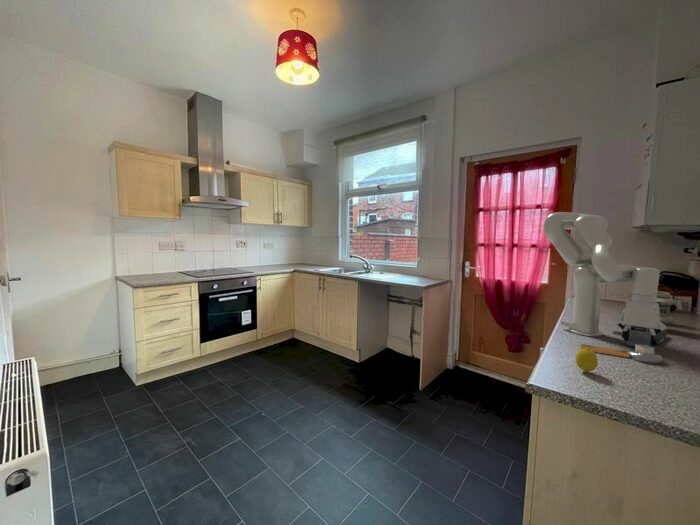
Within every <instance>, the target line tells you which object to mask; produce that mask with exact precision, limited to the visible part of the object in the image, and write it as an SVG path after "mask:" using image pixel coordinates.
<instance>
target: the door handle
mask: <svg viewBox="0 0 700 525" xmlns="http://www.w3.org/2000/svg"><path fill="white" fill-rule="evenodd" d="M622 332H623V331H618V330H613V335H616V334H617V336H621V335H622ZM668 335H669V336H668ZM666 337H670V334H668V332H665V331H661V332H659V333H657V334H656V335H654V339H653V343H651V345H650V346H656V345H658V344H661V343H662V342H663V341H664V339H665V338H666Z"/></svg>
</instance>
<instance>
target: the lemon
mask: <svg viewBox="0 0 700 525" xmlns="http://www.w3.org/2000/svg"><path fill="white" fill-rule="evenodd" d="M598 362H599V361H598V356H597V353H595V352H593V351H591V350H589V349H588V348H586V349H582V350H581V349H579V350H578V351H577V353H576V356H575V363H576V365H577V367H578V368H579V369H580V370H582V371H583V372H584V371H585V372H584V373H589V372H593V371H594V370H595V369H597V367H598V364H599V363H598Z"/></svg>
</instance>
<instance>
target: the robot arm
mask: <svg viewBox="0 0 700 525" xmlns="http://www.w3.org/2000/svg"><path fill="white" fill-rule="evenodd" d="M608 225H609V223H608V221H607V219H606V218H605V217H603V216H602V215H596V214H587V213H578V212H566V211H557V212H552V213H550V214H549V215H547V216H546V218H545V219H544V222H543V231H544V234H545V236H546V238H547V239H548V240H549V241H550V242H551V244H552V246H554V248H555V250H556V251H557V252H558V254H559V256H561V258H562V259H563V261H564V262H565V264H568V266H572V267H573V266H574V267H575V266H577V268H575V269H574V271H573V273H572V280H573V288H574V289H573V291H574V292H573V310H572V311H573V312H572V313H573V314H572V319H571V320H569V321H565V320H560V326H564V327H567V330H568V332H570V333H573V334H576V335H581V336H585V337H597V338H598V337H602V336H603V335H604V333H603V331H601V330H599V329H600V318H601V317H600V313H601V302H602V301H601V300H602V295H601V289H600V286H601V285H606V284H620V283H630V288H629V289H630V290H629V292H628V293H624V297H625V298H628V299H626V301H625V303H624V306H623V310H622V314H621V315H619V316H617V317H615V318H613V322H614V323H615V324H616V325H617V326H618V327H620V328H621V330H622V331H621V332H622V336H621V338H622V339H623V340H625V341H627V340H628V329H629V327H630V326H634V327H641V328H648V330H649V331H650V332H651V333H652V334H651V341H650V346H652V345H651V343H653V339H654V335H656V334H657V333H659V332H661V331H663V330H665V329H668V327H667V326H666V324H665V325H664V324H663V323H662V322H661V321H660V320H659V304H658V303H656V296H657V291H658V290H659V289H658V287H659V280H660V270H659V269H658V268H655V267H647V266H636V265H631V264H617V263H616V262H615V261H614V259H613V258H612V256H611V254H610V247H611V245H612V244H613V242H614V240H613V238H611V237H610V235H609V234H608V233H607V231H606V230H607V228H608ZM566 230H572V231H576V232H577V233H578V235H579V236H580V238H581V239H582V241H583V242H584V243H585V245H580V244H579V243H578V242H577V241H576V240H575V238H574V237H573V236H572V235H571V233H569V232H568V231H566ZM620 321H622V322H623V324H622V323H621V322H620ZM659 325H660V327H659ZM658 327H659V328H658ZM625 341H624V342H625Z"/></svg>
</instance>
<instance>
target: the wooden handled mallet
mask: <svg viewBox="0 0 700 525" xmlns="http://www.w3.org/2000/svg"><path fill="white" fill-rule="evenodd" d="M579 345H580V346H579V347H580V350H582V349H586V348H588V349H589V350H591V351H593V352H594V353H595V352H598V353H597V354H601V353H604V354H603V355H607V354H611V355H610V356H613V355H616V356H615V357H619V356H623V357H622V358H625V357H628V358H627V359H630V360H632V359H633V361H635V362H639V363H643V364H649V365H662V364H663V356H662V355H661V354H658V353H655V347H652V346H651V345H650V346H647V345H636V344H635V346H634V348H629V349H627V350H622V349H616V348H609V347H604V346H597V345H590V344H585V343H584V344H583V343H580V344H579Z"/></svg>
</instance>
